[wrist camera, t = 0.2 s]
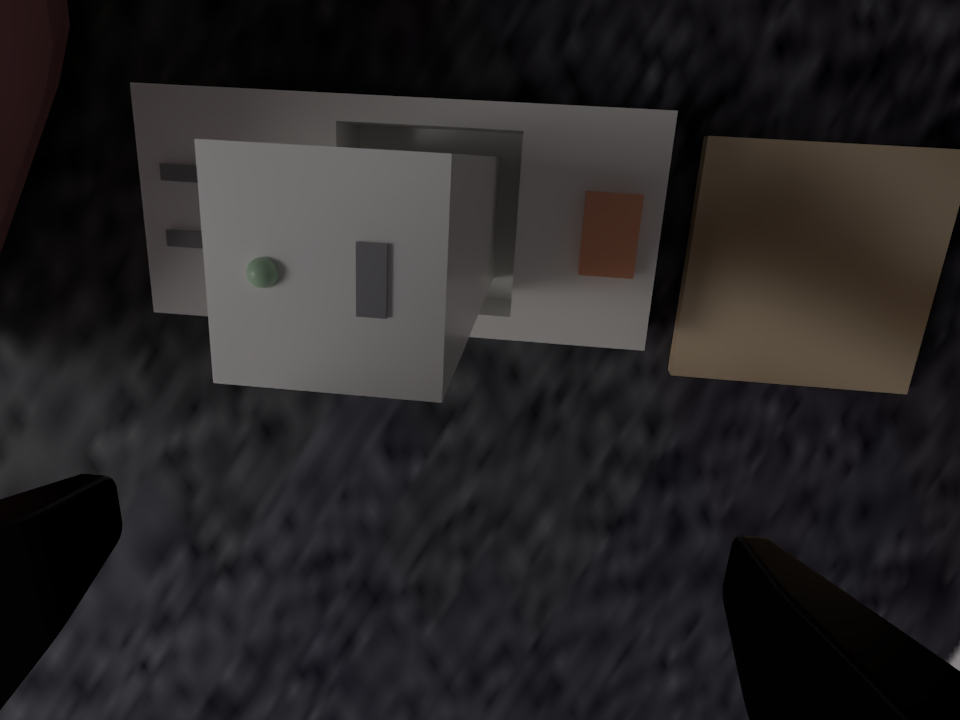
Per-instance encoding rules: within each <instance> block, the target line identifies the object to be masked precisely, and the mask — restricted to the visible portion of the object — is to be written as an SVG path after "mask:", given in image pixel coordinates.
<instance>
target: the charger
mask: <svg viewBox="0 0 960 720" xmlns="http://www.w3.org/2000/svg"><path fill="white" fill-rule="evenodd" d="M194 141H195V154H196V167H197V180H198V193H199V206H200V219H201V232H202V244H203V257H204V270H205V283H206V296H207V309H208V322H209V335H210V348H211V361H212V373H213V383H220V384H232V385H243V386H255V387H267V388H278V389H290V390H301V391H313V392H324V393H336V394H348V395H359V396H371V397H382V398H394V399H405V400H417V401H429V402H440V403H442V401H443V399H444V396H445V394H446V392H447V389H448V387H449V384H450V382H451V379H452V377H453V375H454V372H455V370H456V367H457V365H458V362H459V360H460V358H461V355H462V353H463V350H464V348H465V346H466V343H467V341H468V338H469V336H470V333H471V331H472V329H473V326H474V324H475V321H476V319H477V316H478V314H479V312H480V309H481V307H482V304H483V302H484V300H485V297H486V295H487V292H488V290H489V287H490V285H491V283H492V280H493V278H494V262H495V246H496V230H497V214H498V198H499V182H500V166H501V157H492V156H478V155H464V154H450V153H433V152H416V151H398V150H381V149H364V148H347V147H329V146H312V145H295V144H277V143H260V142H243V141H226V140H208V139H194Z"/></svg>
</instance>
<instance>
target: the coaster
mask: <svg viewBox="0 0 960 720" xmlns="http://www.w3.org/2000/svg"><path fill="white" fill-rule="evenodd" d="M959 206H960V149H943V148H925V147H906V146H888V145H869V144H851V143H832V142H814V141H795V140H777V139H759V138H740V137H722V136H704V138H703V145H702V151H701V158H700V164H699V171H698V177H697V184H696V190H695V197H694V203H693V210H692V217H691V223H690V230H689V236H688V243H687V249H686V256H685V262H684V269H683V275H682V282H681V288H680V295H679V301H678V308H677V314H676V321H675V327H674V334H673V340H672V347H671V353H670V360H669V366H668V371H669V372H670V374H671V375H675V376H687V377H699V378H712V379H724V380H736V381H749V382H761V383H773V384H786V385H798V386H810V387H823V388H835V389H847V390H860V391H872V392H884V393H897V394H907V392H908V389H909V385H910V382H911V378H912V374H913V371H914V367H915V364H916V360H917V356H918V353H919V349H920V346H921V342H922V338H923V335H924V331H925V328H926V324H927V321H928V317H929V313H930V310H931V306H932V303H933V299H934V295H935V292H936V288H937V285H938V281H939V277H940V274H941V270H942V267H943V263H944V259H945V256H946V252H947V249H948V245H949V241H950V238H951V234H952V231H953V227H954V223H955V220H956V216H957V213H958V209H959Z"/></svg>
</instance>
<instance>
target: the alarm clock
mask: <svg viewBox="0 0 960 720" xmlns="http://www.w3.org/2000/svg"><path fill="white" fill-rule="evenodd" d="M69 29H70V22H69V12H68V4H67V0H0V253H1V251H2V248H3V245H4V242H5V239H6V236H7V233H8V230H9V227H10V225H11V222H12V219H13V216H14V213H15V210H16V207H17V204H18V201H19V198H20V196H21V193H22V190H23V187H24V184H25V181H26V178H27V175H28V172H29V170H30V167H31V164H32V161H33V158H34V155H35V152H36V149H37V146H38V143H39V141H40V138H41V135H42V132H43V129H44V126H45V123H46V120H47V117H48V115H49V112H50V109H51V106H52V103H53V100H54V97H55V94H56V91H57V89H58V86H59V82H60V76H61V71H62V66H63V60H64V55H65V50H66V45H67V39H68V34H69Z"/></svg>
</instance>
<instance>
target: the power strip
mask: <svg viewBox="0 0 960 720" xmlns="http://www.w3.org/2000/svg"><path fill="white" fill-rule="evenodd" d="M130 89H131V99H132V109H133V118H134V128H135V137H136V147H137V157H138V166H139V176H140V185H141V195H142V205H143V214H144V224H145V233H146V243H147V253H148V262H149V272H150V281H151V291H152V301H153V310H154V312H159V313H171V314H184V315H197V316H208V309H207V296H206V283H205V270H204V257H203V244H202V232H201V219H200V206H199V193H198V180H197V167H196V154H195V141H194V139H208V140H226V141H243V142H260V143H277V144H295V145H312V146H329V147H347V148H364V149H381V150H398V151H416V152H433V153H450V154H464V155H478V156H492V157H501V166H500V182H499V198H498V214H497V230H496V246H495V262H494V278H493V280H492V283H491V285H490V287H489V290H488V292H487V295H486V297H485V300H484V302H483V304H482V307H481V309H480V312H479V314H478V316H477V319H476V321H475V324H474V326H473V329H472V331H471V333H470V336H469V337H477V338H489V339H502V340H515V341H528V342H540V343H553V344H566V345H579V346H591V347H604V348H617V349H629V350H642V351H644V349H645V342H646V334H647V327H648V320H649V313H650V306H651V299H652V292H653V285H654V277H655V270H656V263H657V256H658V249H659V242H660V235H661V227H662V220H663V213H664V206H665V199H666V192H667V185H668V178H669V170H670V163H671V156H672V149H673V142H674V135H675V128H676V120H677V113H678V111H674V110H655V109H636V108H616V107H597V106H578V105H558V104H539V103H520V102H500V101H481V100H461V99H442V98H423V97H403V96H384V95H365V94H345V93H326V92H306V91H287V90H268V89H248V88H229V87H210V86H190V85H171V84H151V83H132V82H130Z"/></svg>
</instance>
